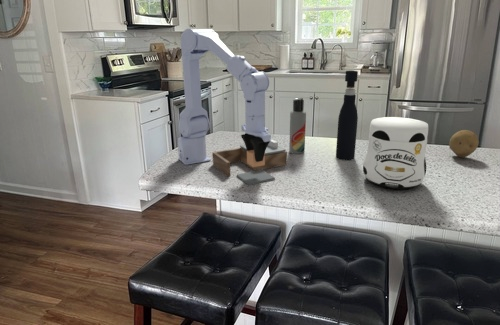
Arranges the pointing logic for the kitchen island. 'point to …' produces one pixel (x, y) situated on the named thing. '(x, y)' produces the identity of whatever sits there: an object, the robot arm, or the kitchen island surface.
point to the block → (252, 161)
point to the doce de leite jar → (396, 152)
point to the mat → (255, 177)
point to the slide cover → (270, 148)
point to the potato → (463, 143)
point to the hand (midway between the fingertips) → (255, 158)
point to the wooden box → (245, 159)
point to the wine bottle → (347, 121)
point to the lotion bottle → (297, 127)
